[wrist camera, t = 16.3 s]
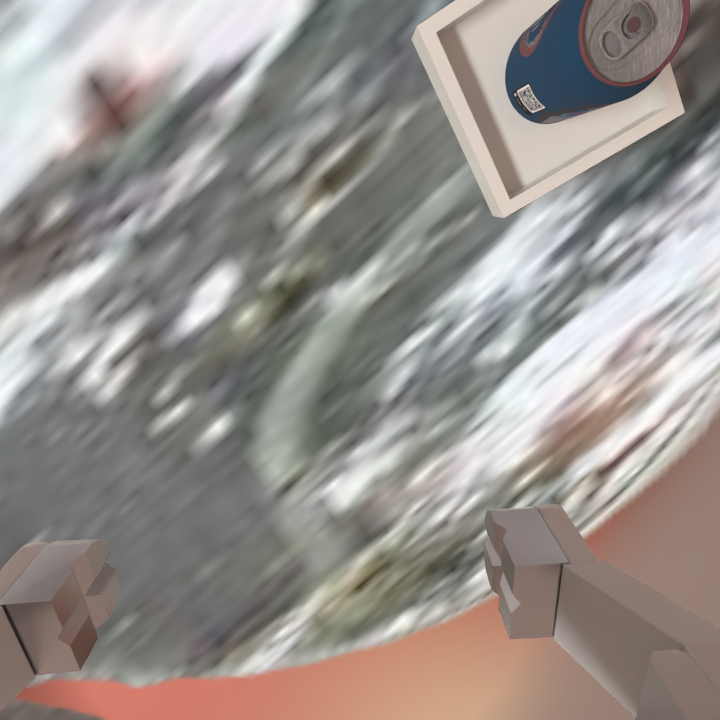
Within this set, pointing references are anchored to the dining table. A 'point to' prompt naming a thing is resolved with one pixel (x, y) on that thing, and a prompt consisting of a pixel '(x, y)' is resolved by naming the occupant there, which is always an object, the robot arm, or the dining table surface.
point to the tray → (503, 123)
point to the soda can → (592, 55)
